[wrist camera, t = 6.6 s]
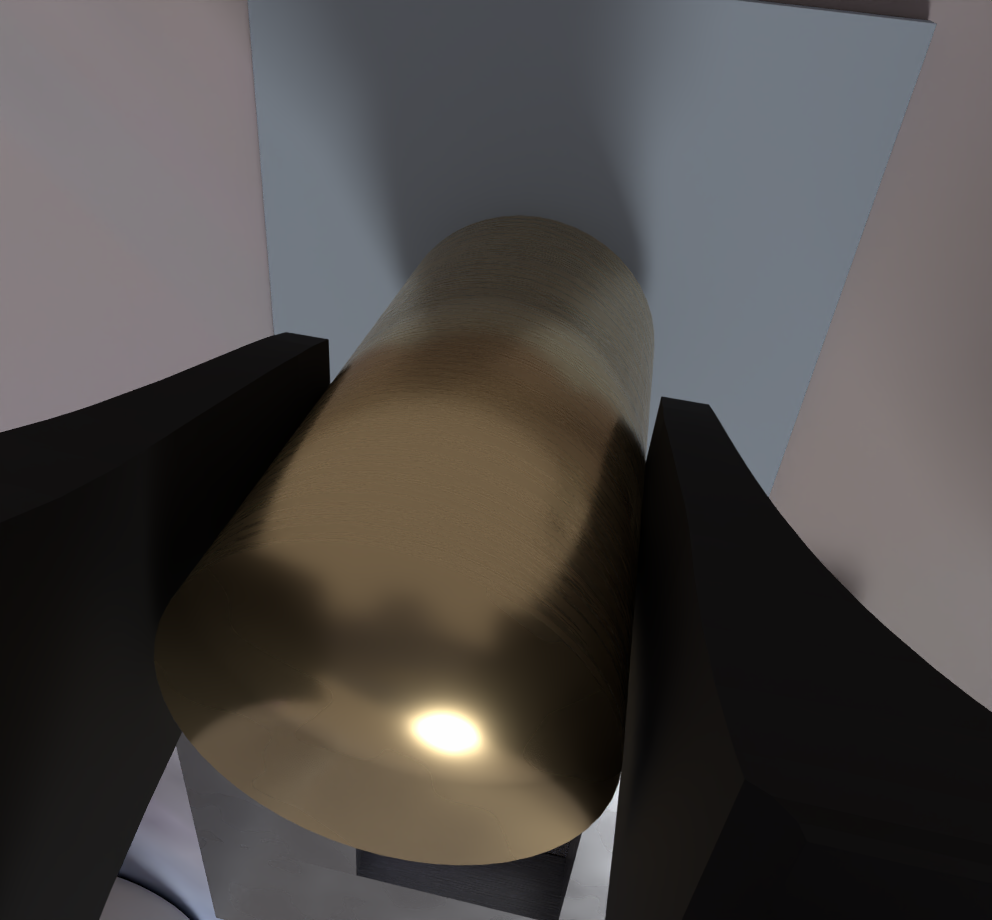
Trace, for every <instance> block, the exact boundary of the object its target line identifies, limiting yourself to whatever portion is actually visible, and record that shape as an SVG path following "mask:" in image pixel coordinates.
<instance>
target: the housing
mask: <svg viewBox="0 0 992 920" xmlns="http://www.w3.org/2000/svg"><path fill="white" fill-rule="evenodd" d="M176 747H177V751H178V756H179V760H180V764H181V769H182V773H183V777H184V782H185V786H186V790H187V794H188V799H189V803H190V807H191V812H192V816H193V820H194V825H195V829H196V833H197V838H198V842H199V846H200V850H201V855H202V859H203V863H204V868H205V872H206V876H207V881H208V885H209V889H210V894H211V898H212V902H213V907H214V911H215V915H216V918H220V919H224V920H605V914H606V905H607V896H608V887H609V879H610V870H611V861H612V852H613V843H614V834H615V824H616V815H617V805H618V795H619V786H620V780H619V784H618V786H617V789H616V791H615V793H614V796H613V798H612V800H611V802H610V803H609V805H608V806H607V808H606V809H605V810H604V812H603V813H602V815H601V816H600V817H599V818H598V819H597V820H596V821H595V822H594V823H593V824H592V825H591V826H590V827H589V828H588V829H587V830H585V831H584V832H582V833H581V834H579V835H578V836H576V837H575V838H573V839H572V840H570V844H569V848H568V852H567V856H566V858H563V857H558V856H554V855H550V854H546V853H541V854H538V855H535V856H532V857H528V858H524V859H519V860H514V861H509V862H503V863H494V864H485V865H444V864H430V863H422V862H415V861H407V860H402V859H397V858H392V857H388V856H383V855H379V854H375V853H371V852H368V851H364V850H361V849H357V848H354V847H351V846H348V845H345V844H342V843H339V842H337V841H334V840H331V839H328V838H326V837H324V836H321V835H319V834H317V833H314V832H312V831H309V830H307V829H305V828H303V827H301V826H299V825H297V824H295V823H293V822H291V821H289V820H287V819H285V818H283V817H281V816H280V815H278V814H276V813H275V812H273V811H271V810H270V809H268V808H266V807H265V806H263V805H261V804H260V803H258V802H257V801H255V800H254V799H252V798H251V797H250V796H248V795H247V794H245V793H244V792H242V791H241V790H240V789H238V788H237V787H236V786H235V785H233V784H232V783H231V782H230V781H228V780H227V779H226V778H225V777H224V776H222V775H221V774H220V773H219V772H218V771H217V770H216V769H215V768H214V767H213V766H212V765H211V764H210V763H209V762H208V761H207V760H206V759H205V758H204V757H202V756H201V754H200V753H199V752H198V751H197V750H196V748H195V747H194V746H193V745H192V744H191V742H190V741H189V740H188V739H187V738H186V736H185V735H184V733H183V732H182V734H181V736H180V738H179V740H178V742H177V744H176ZM620 776H621V774H620Z"/></svg>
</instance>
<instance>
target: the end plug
mask: <svg viewBox="0 0 992 920" xmlns="http://www.w3.org/2000/svg"><path fill="white" fill-rule="evenodd" d="M653 361H654V327H653V321H652V315H651V312H650V309H649V306H648V302H647V300H646V298H645V295H644V293H643V291H642V289H641V287H640V285H639V283H638V282H637V280H636V279H635V277H634V276H633V274H632V272H631V271H630V270H629V269H628V267H627V266H626V265H625V264H624V263H623V262H622V260H621V259H620V258H619V257H618V256H617V255H616V254H614V253H613V252H612V251H611V250H610V249H609V248H608V247H607V246H606V245H604V244H603V243H601V242H600V241H598V240H597V239H595V238H594V237H592V236H591V235H589V234H587V233H585V232H583V231H581V230H579V229H577V228H575V227H573V226H570V225H567V224H565V223H562V222H559V221H556V220H551V219H546V218H542V217H535V216H522V215H517V216H501V217H496V218H490V219H485V220H482V221H479V222H476V223H473V224H470V225H468V226H466V227H464V228H462V229H460V230H458V231H456V232H454V233H452V234H451V235H449V236H448V237H446V238H445V239H443V240H442V241H441V242H439V243H438V244H437V245H436V246H435V247H434V248H433V249H432V250H431V251H430V252H429V253H428V254H427V255H426V256H425V258H424V259H423V260H422V261H421V263H420V264H419V265H418V267H417V268H416V269H415V271H414V272H413V273H412V275H411V276H410V277H409V279H408V280H407V281H406V283H405V284H404V285H403V287H402V288H401V290H400V291H399V292H398V294H397V295H396V296H395V298H394V299H393V300H392V302H391V303H390V304H389V306H388V307H387V308H386V310H385V311H384V312H383V314H382V315H381V317H380V318H379V319H378V321H377V322H376V323H375V325H374V326H373V327H372V329H371V330H370V331H369V333H368V334H367V335H366V337H365V338H364V340H363V341H362V342H361V344H360V345H359V346H358V348H357V349H356V350H355V352H354V353H353V354H352V356H351V357H350V358H349V360H348V361H347V362H346V364H345V365H344V367H343V368H342V369H341V371H340V372H339V373H338V375H337V376H336V377H335V379H334V380H333V381H332V383H331V384H330V385H329V387H328V388H327V390H326V391H325V392H324V394H323V395H322V396H321V398H320V399H319V400H318V402H317V403H316V404H315V406H314V407H313V408H312V410H311V411H310V412H309V414H308V415H307V417H306V418H305V419H304V421H303V422H302V423H301V425H300V426H299V427H298V429H297V430H296V431H295V433H294V434H293V435H292V437H291V438H290V440H289V441H288V442H287V444H286V445H285V446H284V448H283V449H282V450H281V452H280V453H279V454H278V456H277V457H276V458H275V460H274V461H273V463H272V464H271V465H270V467H269V468H268V469H267V471H266V472H265V473H264V475H263V476H262V477H261V479H260V480H259V481H258V483H257V484H256V485H255V487H254V488H253V490H252V491H251V492H250V494H249V495H248V496H247V498H246V499H245V500H244V502H243V503H242V504H241V506H240V507H239V508H238V510H237V511H236V513H235V514H234V515H233V517H232V518H231V519H230V521H229V522H228V523H227V525H226V526H225V527H224V529H223V530H222V531H221V533H220V534H219V535H218V537H217V538H216V540H215V541H214V542H213V544H212V545H211V546H210V548H209V549H208V550H207V552H206V553H205V554H204V556H203V557H202V558H201V560H200V561H199V563H198V564H197V565H196V567H195V568H194V569H193V571H192V572H191V573H190V575H189V576H188V577H187V579H186V580H185V581H184V583H183V584H182V586H181V587H180V588H179V590H178V591H177V592H176V594H175V595H174V596H173V598H172V599H171V600H170V602H169V603H168V605H167V607H166V609H165V611H164V613H163V615H162V617H161V619H160V621H159V624H158V628H157V632H156V636H155V643H154V663H155V669H156V676H157V681H158V684H159V687H160V690H161V692H162V695H163V698H164V701H165V703H166V705H167V707H168V709H169V711H170V713H171V715H172V716H173V718H174V720H175V721H176V723H177V724H178V726H179V727H180V729H181V730H182V732H183V733H184V735H185V736H186V738H187V739H188V740H189V741H190V742H191V744H192V745H193V746H194V747H195V748H196V750H197V751H198V752H199V753H200V754H201V756H202V757H204V758H205V759H206V760H207V761H208V762H209V763H210V764H211V765H212V766H213V767H214V768H215V769H216V770H217V771H218V772H219V773H220V774H221V775H222V776H224V777H225V778H226V779H227V780H228V781H230V782H231V783H232V784H233V785H235V786H236V787H237V788H238V789H240V790H241V791H242V792H244V793H245V794H247V795H248V796H250V797H251V798H252V799H254V800H255V801H257V802H258V803H260V804H261V805H263V806H265V807H266V808H268V809H270V810H271V811H273V812H275V813H276V814H278V815H280V816H281V817H283V818H285V819H287V820H289V821H291V822H293V823H295V824H297V825H299V826H301V827H303V828H305V829H307V830H309V831H312V832H314V833H317V834H319V835H321V836H324V837H326V838H328V839H331V840H334V841H337V842H339V843H342V844H345V845H348V846H351V847H354V848H357V849H361V850H364V851H368V852H371V853H375V854H379V855H383V856H388V857H392V858H397V859H402V860H407V861H415V862H422V863H430V864H444V865H485V864H494V863H503V862H509V861H514V860H519V859H524V858H528V857H532V856H535V855H538V854H541V853H544V852H547V851H550V850H552V849H554V848H556V847H558V846H560V845H563V844H565V843H567V842H569V841H570V840H572V839H573V838H575V837H576V836H578V835H579V834H581V833H582V832H584V831H585V830H587V829H588V828H589V827H590V826H591V825H592V824H593V823H594V822H595V821H596V820H597V819H598V818H599V817H600V816H601V815H602V813H603V812H604V810H605V809H606V808H607V806H608V805H609V803H610V802H611V800H612V798H613V796H614V793H615V791H616V789H617V786H618V784H619V780H620V774H621V769H622V763H623V751H624V738H625V725H626V712H627V699H628V686H629V673H630V660H631V647H632V634H633V621H634V608H635V595H636V582H637V569H638V556H639V543H640V530H641V517H642V502H643V489H644V476H645V463H646V452H647V439H648V426H649V413H650V400H651V387H652V374H653Z"/></svg>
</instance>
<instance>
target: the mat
mask: <svg viewBox="0 0 992 920" xmlns="http://www.w3.org/2000/svg"><path fill="white" fill-rule="evenodd" d="M248 11H249V23H250V36H251V48H252V61H253V73H254V86H255V99H256V111H257V124H258V136H259V149H260V161H261V174H262V187H263V199H264V212H265V224H266V237H267V249H268V262H269V275H270V287H271V300H272V312H273V325H274V335H277V334H280V333H284V332H289V333H295V334H301V335H307V336H313V337H319V338H324V339H329V359H330V384H331V383H332V381H333V380H334V379H335V377H336V376H337V375H338V373H339V372H340V371H341V369H342V368H343V367H344V365H345V364H346V362H347V361H348V360H349V358H350V357H351V356H352V354H353V353H354V352H355V350H356V349H357V348H358V346H359V345H360V344H361V342H362V341H363V340H364V338H365V337H366V335H367V334H368V333H369V331H370V330H371V329H372V327H373V326H374V325H375V323H376V322H377V321H378V319H379V318H380V317H381V315H382V314H383V312H384V311H385V310H386V308H387V307H388V306H389V304H390V303H391V302H392V300H393V299H394V298H395V296H396V295H397V294H398V292H399V291H400V290H401V288H402V287H403V285H404V284H405V283H406V281H407V280H408V279H409V277H410V276H411V275H412V273H413V272H414V271H415V269H416V268H417V267H418V265H419V264H420V263H421V261H422V260H423V259H424V258H425V256H426V255H427V254H428V253H429V252H430V251H431V250H432V249H433V248H434V247H435V246H436V245H437V244H438V243H439V242H441V241H442V240H443V239H445V238H446V237H448V236H449V235H451V234H452V233H454V232H456V231H458V230H460V229H462V228H464V227H466V226H468V225H470V224H473V223H476V222H479V221H482V220H485V219H490V218H496V217H501V216H517V215H522V216H535V217H542V218H546V219H551V220H556V221H559V222H562V223H565V224H567V225H570V226H573V227H575V228H577V229H579V230H581V231H583V232H585V233H587V234H589V235H591V236H592V237H594V238H595V239H597V240H598V241H600V242H601V243H603V244H604V245H606V246H607V247H608V248H609V249H610V250H611V251H612V252H613V253H614V254H616V255H617V256H618V257H619V258H620V259H621V260H622V262H623V263H624V264H625V265H626V266H627V267H628V269H629V270H630V271H631V272H632V274H633V276H634V277H635V279H636V280H637V282H638V283H639V285H640V287H641V289H642V291H643V293H644V295H645V298H646V300H647V302H648V306H649V309H650V312H651V315H652V321H653V327H654V361H653V374H652V387H651V400H650V413H649V426H648V439H647V452H646V459H647V454H648V450H649V446H650V442H651V437H652V433H653V429H654V425H655V421H656V416H657V412H658V408H659V404H660V399H661V396H663V397H669V398H674V399H680V400H686V401H692V402H698V403H703V404H709V405H710V407H711V408H712V410H713V411H714V413H715V414H716V416H717V417H718V419H719V421H720V422H721V424H722V426H723V427H724V429H725V431H726V433H727V434H728V436H729V438H730V439H731V441H732V442H733V444H734V446H735V447H736V449H737V451H738V452H739V454H740V455H741V457H742V459H743V460H744V462H745V463H746V465H747V467H748V468H749V470H750V471H751V473H752V474H753V476H754V477H755V479H756V480H757V482H758V483H759V484H760V486H761V487H762V489H763V490H764V492H765V493H766V494H767V496H768V497H769V494H770V492H771V489H772V486H773V483H774V480H775V478H776V475H777V472H778V469H779V466H780V464H781V461H782V458H783V455H784V452H785V449H786V447H787V444H788V441H789V438H790V435H791V433H792V430H793V427H794V424H795V421H796V419H797V416H798V413H799V410H800V407H801V404H802V402H803V399H804V396H805V393H806V390H807V388H808V385H809V382H810V379H811V376H812V374H813V371H814V368H815V365H816V362H817V359H818V357H819V354H820V351H821V348H822V345H823V343H824V340H825V337H826V334H827V331H828V328H829V326H830V323H831V320H832V317H833V314H834V312H835V309H836V306H837V303H838V300H839V298H840V295H841V292H842V289H843V286H844V283H845V281H846V278H847V275H848V272H849V269H850V267H851V264H852V261H853V258H854V255H855V253H856V250H857V247H858V244H859V241H860V238H861V236H862V233H863V230H864V227H865V224H866V222H867V219H868V216H869V213H870V210H871V208H872V205H873V202H874V199H875V196H876V193H877V191H878V188H879V185H880V182H881V179H882V177H883V174H884V171H885V168H886V165H887V163H888V160H889V157H890V154H891V151H892V148H893V146H894V143H895V140H896V137H897V134H898V132H899V129H900V126H901V123H902V120H903V118H904V115H905V112H906V109H907V106H908V103H909V101H910V98H911V95H912V92H913V89H914V87H915V84H916V81H917V78H918V75H919V72H920V70H921V67H922V64H923V61H924V58H925V56H926V53H927V50H928V47H929V44H930V42H931V39H932V36H933V33H934V30H935V27H936V25H937V24H936V23H934V22H932V21H930V20H921V19H912V18H904V17H895V16H887V15H878V14H870V13H861V12H852V11H844V10H835V9H827V8H818V7H810V6H801V5H792V4H784V3H775V2H767V1H758V0H248Z"/></svg>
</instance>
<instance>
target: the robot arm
mask: <svg viewBox="0 0 992 920" xmlns="http://www.w3.org/2000/svg"><path fill="white" fill-rule="evenodd" d="M329 385H330V359H329V339H324V338H319V337H313V336H307V335H301V334H295V333H289V332H284V333H280V334H277V335H273V336H270V337H267V338H264V339H261V340H259V341H256V342H253V343H251V344H248V345H246V346H243V347H241V348H238V349H236V350H233V351H231V352H229V353H226V354H224V355H221V356H219V357H216V358H214V359H212V360H209V361H207V362H204V363H202V364H199V365H197V366H195V367H192V368H190V369H187V370H185V371H182V372H180V373H178V374H175V375H173V376H170V377H168V378H165V379H163V380H160V381H158V382H155V383H152V384H149V385H147V386H144V387H141V388H138V389H136V390H133V391H130V392H128V393H125V394H122V395H119V396H117V397H114V398H111V399H108V400H106V401H103V402H100V403H98V404H95V405H92V406H89V407H86V408H83V409H80V410H77V411H74V412H71V413H68V414H64V415H61V416H58V417H55V418H51V419H48V420H45V421H41V422H37V423H34V424H30V425H26V426H23V427H19V428H15V429H12V430H8V431H5V432H1V433H0V920H99V919H100V916H101V914H102V911H103V909H104V906H105V904H106V901H107V899H108V896H109V894H110V892H111V889H112V887H113V884H114V882H115V880H116V878H117V875H118V873H119V871H120V868H121V866H122V864H123V861H124V859H125V857H126V855H127V852H128V850H129V848H130V845H131V843H132V841H133V838H134V836H135V834H136V832H137V829H138V827H139V825H140V822H141V820H142V818H143V815H144V813H145V811H146V809H147V806H148V804H149V802H150V800H151V798H152V795H153V793H154V791H155V789H156V787H157V785H158V783H159V781H160V778H161V776H162V774H163V772H164V770H165V768H166V766H167V763H168V761H169V759H170V757H171V755H172V753H173V751H174V748H175V746H176V744H177V742H178V740H179V738H180V736H181V734H182V730H181V729H180V727H179V726H178V724H177V723H176V721H175V720H174V718H173V716H172V715H171V713H170V711H169V709H168V707H167V705H166V703H165V701H164V698H163V695H162V692H161V690H160V687H159V684H158V681H157V676H156V669H155V663H154V643H155V636H156V632H157V628H158V624H159V621H160V619H161V617H162V615H163V613H164V611H165V609H166V607H167V605H168V603H169V602H170V600H171V599H172V598H173V596H174V595H175V594H176V592H177V591H178V590H179V588H180V587H181V586H182V584H183V583H184V581H185V580H186V579H187V577H188V576H189V575H190V573H191V572H192V571H193V569H194V568H195V567H196V565H197V564H198V563H199V561H200V560H201V558H202V557H203V556H204V554H205V553H206V552H207V550H208V549H209V548H210V546H211V545H212V544H213V542H214V541H215V540H216V538H217V537H218V535H219V534H220V533H221V531H222V530H223V529H224V527H225V526H226V525H227V523H228V522H229V521H230V519H231V518H232V517H233V515H234V514H235V513H236V511H237V510H238V508H239V507H240V506H241V504H242V503H243V502H244V500H245V499H246V498H247V496H248V495H249V494H250V492H251V491H252V490H253V488H254V487H255V485H256V484H257V483H258V481H259V480H260V479H261V477H262V476H263V475H264V473H265V472H266V471H267V469H268V468H269V467H270V465H271V464H272V463H273V461H274V460H275V458H276V457H277V456H278V454H279V453H280V452H281V450H282V449H283V448H284V446H285V445H286V444H287V442H288V441H289V440H290V438H291V437H292V435H293V434H294V433H295V431H296V430H297V429H298V427H299V426H300V425H301V423H302V422H303V421H304V419H305V418H306V417H307V415H308V414H309V412H310V411H311V410H312V408H313V407H314V406H315V404H316V403H317V402H318V400H319V399H320V398H321V396H322V395H323V394H324V392H325V391H326V390H327V388H328V387H329ZM605 920H992V712H991V711H989V710H988V709H987V708H985V707H984V706H983V705H981V704H980V703H978V702H977V701H976V700H974V699H973V698H972V697H970V696H969V695H968V694H966V693H965V692H964V691H963V690H961V689H960V688H959V687H957V686H956V685H955V684H954V683H952V682H951V681H950V680H949V679H947V678H946V677H945V676H943V675H942V674H941V673H940V672H938V671H937V670H936V669H935V668H933V667H932V666H931V665H930V664H929V663H927V662H926V661H925V660H924V659H923V658H922V657H920V656H919V655H918V654H917V653H916V652H915V651H913V650H912V649H911V648H910V647H909V646H908V645H906V644H905V643H904V642H903V641H902V640H901V639H899V638H898V637H897V636H896V635H895V634H894V633H892V632H891V631H890V630H889V629H888V628H887V627H886V626H884V625H883V624H882V623H881V622H880V621H879V620H878V619H877V618H876V617H875V616H874V615H873V614H872V613H870V612H869V611H868V610H867V609H866V608H865V607H864V606H863V605H862V604H861V603H860V602H859V601H858V600H857V599H856V598H855V597H854V596H853V595H852V594H851V593H850V592H849V591H848V590H847V589H846V588H845V587H844V586H843V585H842V584H841V583H840V582H839V581H838V580H837V579H836V578H835V577H834V575H833V574H832V573H831V572H830V571H829V570H828V569H827V568H826V567H825V566H824V565H823V564H822V563H821V562H820V561H819V560H818V558H817V557H816V556H815V555H814V554H813V553H812V552H811V551H810V549H809V548H808V547H807V546H806V545H805V543H804V542H803V541H802V540H801V538H800V537H799V536H798V535H797V534H796V532H795V531H794V530H793V529H792V527H791V526H790V525H789V524H788V523H787V521H786V520H785V519H784V518H783V516H782V515H781V514H780V512H779V511H778V510H777V508H776V507H775V506H774V504H773V503H772V502H771V500H770V499H769V497H768V496H767V494H766V493H765V492H764V490H763V489H762V487H761V486H760V484H759V483H758V482H757V480H756V479H755V477H754V476H753V474H752V473H751V471H750V470H749V468H748V467H747V465H746V463H745V462H744V460H743V459H742V457H741V455H740V454H739V452H738V451H737V449H736V447H735V446H734V444H733V442H732V441H731V439H730V438H729V436H728V434H727V433H726V431H725V429H724V427H723V426H722V424H721V422H720V421H719V419H718V417H717V416H716V414H715V413H714V411H713V410H712V408H711V407H710V405H709V404H703V403H698V402H692V401H686V400H680V399H674V398H669V397H663V396H661V399H660V404H659V408H658V412H657V416H656V421H655V425H654V429H653V433H652V437H651V442H650V446H649V450H648V454H647V459H646V463H645V476H644V489H643V502H642V517H641V530H640V543H639V556H638V569H637V582H636V595H635V608H634V621H633V634H632V647H631V660H630V673H629V686H628V699H627V712H626V725H625V738H624V751H623V763H622V769H621V776H620V786H619V795H618V805H617V815H616V824H615V834H614V843H613V852H612V861H611V870H610V879H609V887H608V896H607V905H606V914H605Z"/></svg>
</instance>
